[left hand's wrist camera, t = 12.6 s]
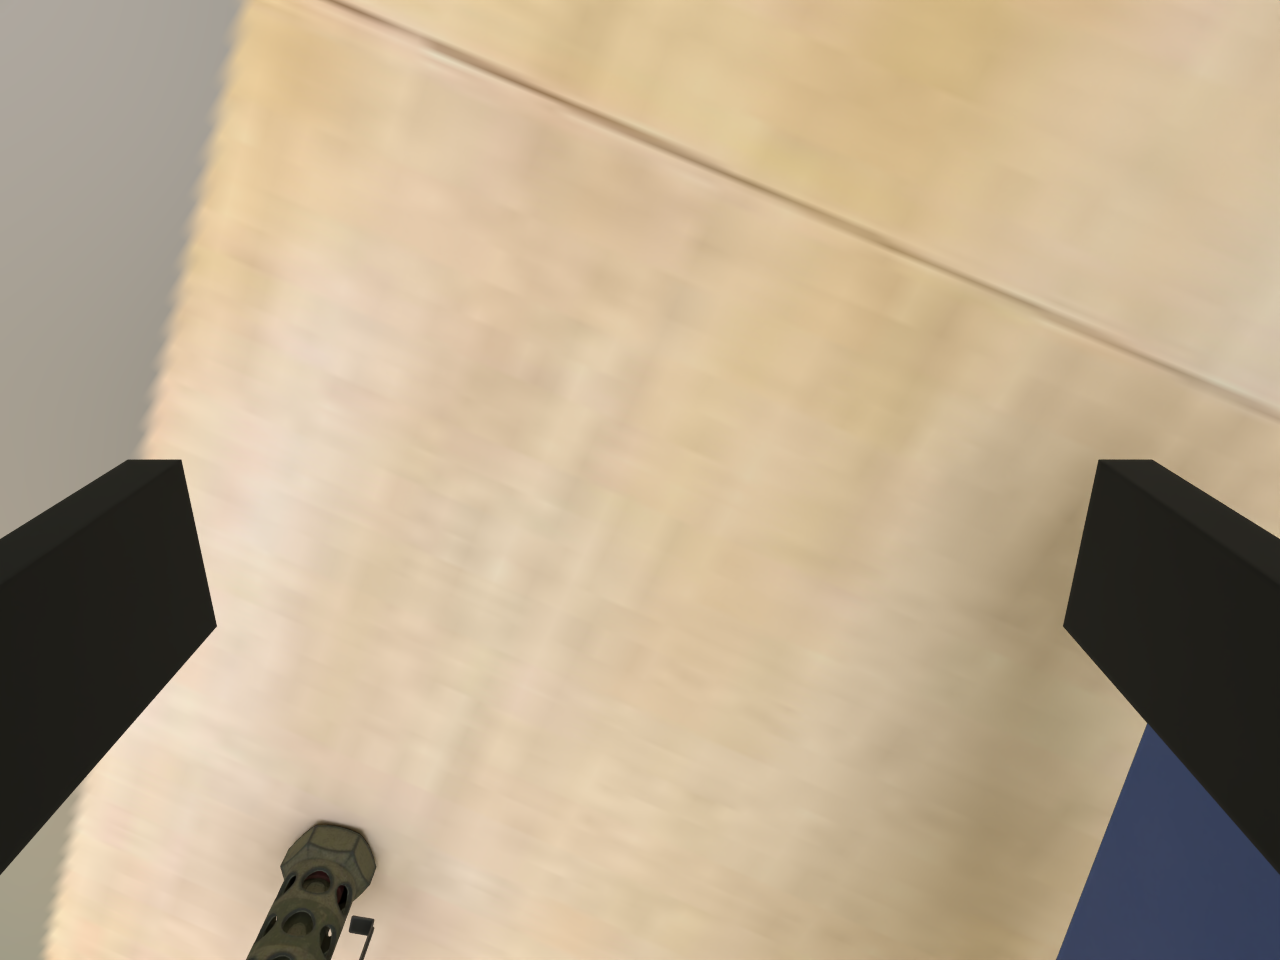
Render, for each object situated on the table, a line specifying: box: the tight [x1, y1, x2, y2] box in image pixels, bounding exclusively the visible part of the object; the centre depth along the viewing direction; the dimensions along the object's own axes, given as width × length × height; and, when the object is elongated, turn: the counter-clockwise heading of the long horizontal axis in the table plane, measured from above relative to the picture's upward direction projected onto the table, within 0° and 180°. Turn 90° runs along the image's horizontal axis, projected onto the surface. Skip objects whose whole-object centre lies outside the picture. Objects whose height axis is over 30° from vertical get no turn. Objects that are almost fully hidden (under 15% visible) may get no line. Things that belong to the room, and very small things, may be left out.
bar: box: [1056, 723, 1280, 960], centre depth 31 cm, size 27×5×9 cm, turn 175°
